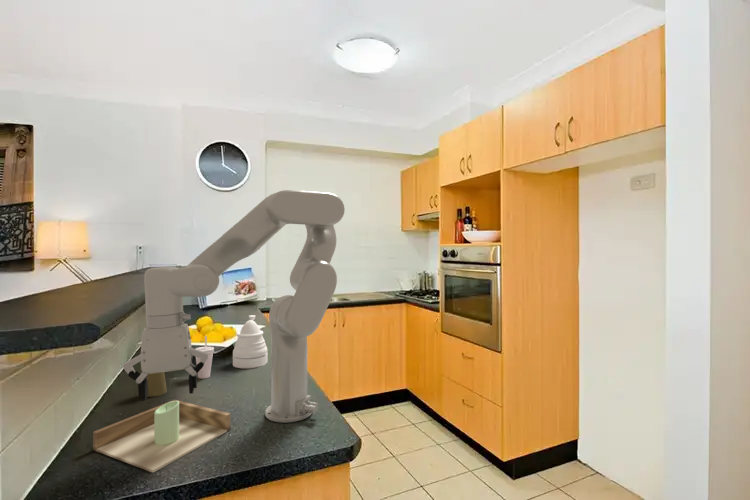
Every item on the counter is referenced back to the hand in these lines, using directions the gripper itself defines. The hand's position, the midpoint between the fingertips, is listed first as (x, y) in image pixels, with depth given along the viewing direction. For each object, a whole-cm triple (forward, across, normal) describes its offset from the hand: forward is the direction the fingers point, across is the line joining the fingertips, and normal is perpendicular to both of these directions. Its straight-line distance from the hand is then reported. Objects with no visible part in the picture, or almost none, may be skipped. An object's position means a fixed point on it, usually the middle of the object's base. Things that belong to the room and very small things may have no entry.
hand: (168, 394), depth 89 cm
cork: (+11, +9, -34) cm, 37 cm away
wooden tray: (+11, +1, -1) cm, 11 cm away
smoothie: (+11, -4, -46) cm, 47 cm away
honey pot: (+12, -19, -57) cm, 61 cm away
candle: (+10, +1, 0) cm, 10 cm away
